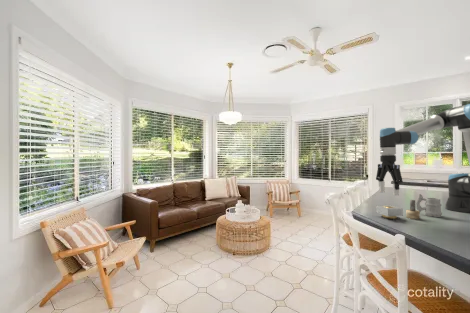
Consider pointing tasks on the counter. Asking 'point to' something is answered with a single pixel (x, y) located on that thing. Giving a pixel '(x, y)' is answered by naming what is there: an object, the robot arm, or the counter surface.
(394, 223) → the counter surface
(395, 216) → the hub
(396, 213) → the grey square block
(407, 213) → the stand
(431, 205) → the mug
